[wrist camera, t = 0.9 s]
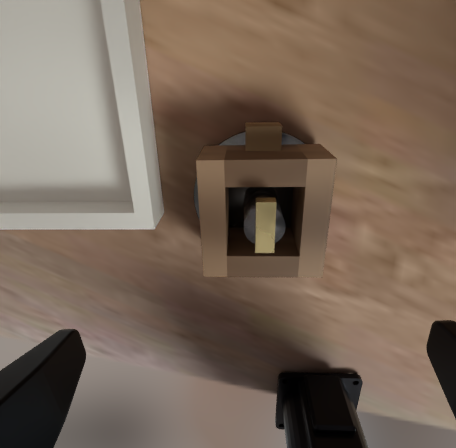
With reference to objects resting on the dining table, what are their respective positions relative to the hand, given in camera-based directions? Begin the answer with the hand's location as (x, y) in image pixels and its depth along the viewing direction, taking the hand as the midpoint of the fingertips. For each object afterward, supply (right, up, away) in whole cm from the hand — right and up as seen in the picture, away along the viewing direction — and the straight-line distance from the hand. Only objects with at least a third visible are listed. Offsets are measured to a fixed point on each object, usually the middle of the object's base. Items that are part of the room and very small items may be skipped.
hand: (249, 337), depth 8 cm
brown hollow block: (+1, +4, +11) cm, 12 cm away
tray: (-12, +10, +9) cm, 18 cm away
